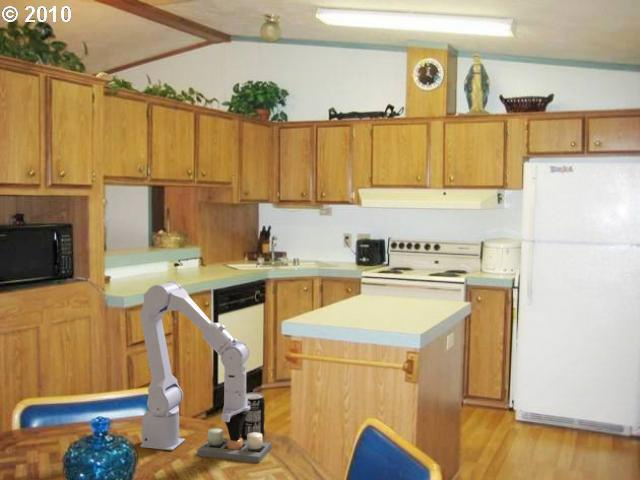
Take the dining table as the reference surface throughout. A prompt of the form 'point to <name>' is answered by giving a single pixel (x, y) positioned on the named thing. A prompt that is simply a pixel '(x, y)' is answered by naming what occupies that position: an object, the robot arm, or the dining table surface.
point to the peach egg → (234, 444)
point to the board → (234, 452)
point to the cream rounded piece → (254, 440)
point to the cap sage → (215, 436)
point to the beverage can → (254, 415)
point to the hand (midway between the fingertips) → (235, 440)
